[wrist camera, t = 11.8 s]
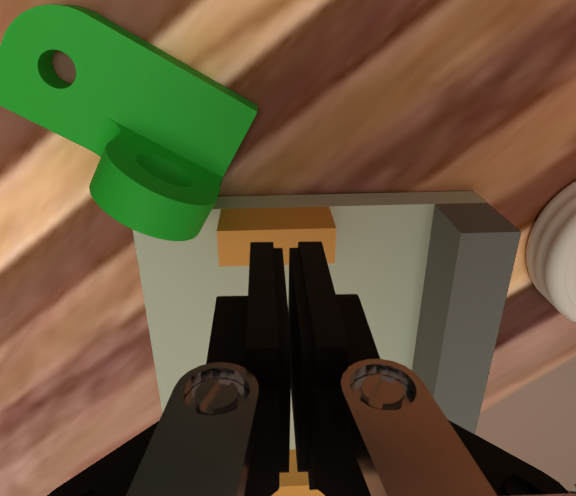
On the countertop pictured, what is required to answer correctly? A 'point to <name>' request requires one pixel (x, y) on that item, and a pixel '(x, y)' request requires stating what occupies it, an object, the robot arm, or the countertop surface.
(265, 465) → the robot arm
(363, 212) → the deck plate
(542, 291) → the coaster
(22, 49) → the mechanical part
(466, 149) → the countertop surface
